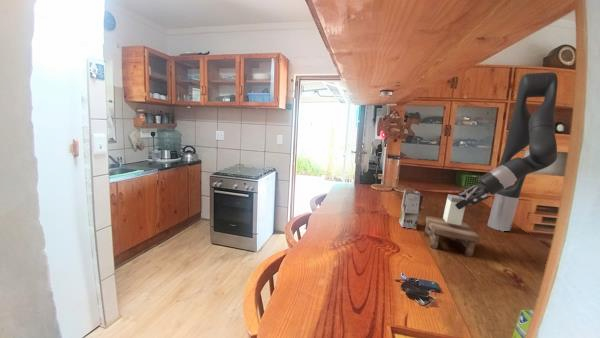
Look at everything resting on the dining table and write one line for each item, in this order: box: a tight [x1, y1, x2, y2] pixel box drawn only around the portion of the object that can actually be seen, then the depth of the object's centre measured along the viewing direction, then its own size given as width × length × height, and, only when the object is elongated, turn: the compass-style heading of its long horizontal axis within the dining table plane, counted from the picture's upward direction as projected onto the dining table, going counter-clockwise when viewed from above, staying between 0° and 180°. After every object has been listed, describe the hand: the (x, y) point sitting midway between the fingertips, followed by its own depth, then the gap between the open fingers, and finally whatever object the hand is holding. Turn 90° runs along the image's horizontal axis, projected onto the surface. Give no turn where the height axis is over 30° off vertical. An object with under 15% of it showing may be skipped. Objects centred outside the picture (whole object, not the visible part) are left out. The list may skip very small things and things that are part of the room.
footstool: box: [423, 215, 480, 258], centre depth 103 cm, size 15×15×8 cm
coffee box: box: [398, 188, 424, 230], centre depth 119 cm, size 9×6×16 cm
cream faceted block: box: [442, 193, 466, 225], centre depth 101 cm, size 6×5×10 cm
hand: (454, 204), depth 101 cm, fingers closed on cream faceted block, 5 cm apart
